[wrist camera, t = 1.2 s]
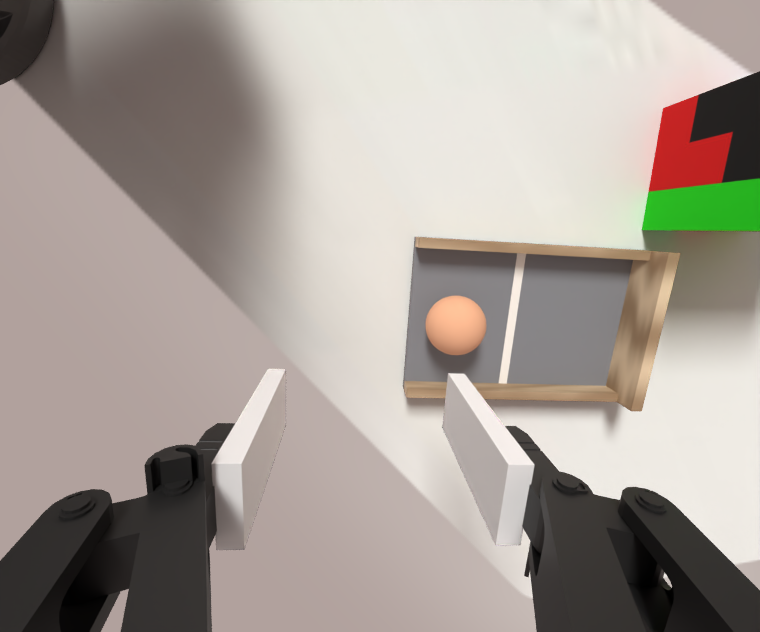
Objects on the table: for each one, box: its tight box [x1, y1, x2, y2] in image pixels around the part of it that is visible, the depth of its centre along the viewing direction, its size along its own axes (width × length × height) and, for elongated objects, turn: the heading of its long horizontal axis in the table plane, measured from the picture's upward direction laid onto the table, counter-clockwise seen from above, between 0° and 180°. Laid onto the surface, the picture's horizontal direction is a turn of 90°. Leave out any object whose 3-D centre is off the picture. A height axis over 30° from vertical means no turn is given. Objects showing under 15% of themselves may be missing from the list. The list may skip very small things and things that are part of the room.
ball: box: [426, 296, 486, 355], centre depth 31 cm, size 5×5×5 cm
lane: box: [403, 237, 633, 388], centre depth 34 cm, size 14×21×1 cm, turn 87°
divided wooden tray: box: [404, 237, 681, 411], centre depth 32 cm, size 14×21×4 cm, turn 87°
